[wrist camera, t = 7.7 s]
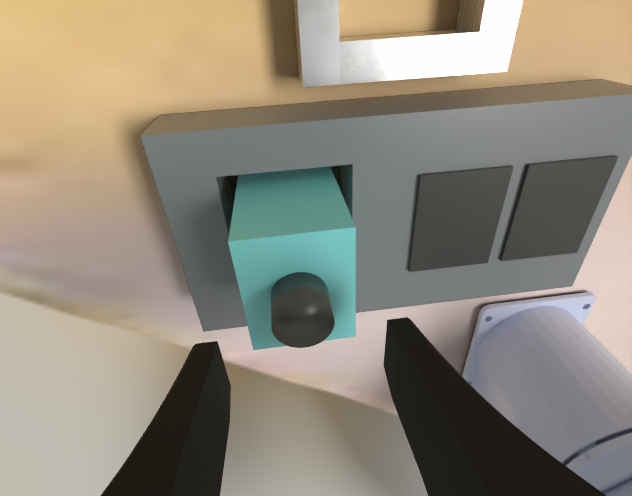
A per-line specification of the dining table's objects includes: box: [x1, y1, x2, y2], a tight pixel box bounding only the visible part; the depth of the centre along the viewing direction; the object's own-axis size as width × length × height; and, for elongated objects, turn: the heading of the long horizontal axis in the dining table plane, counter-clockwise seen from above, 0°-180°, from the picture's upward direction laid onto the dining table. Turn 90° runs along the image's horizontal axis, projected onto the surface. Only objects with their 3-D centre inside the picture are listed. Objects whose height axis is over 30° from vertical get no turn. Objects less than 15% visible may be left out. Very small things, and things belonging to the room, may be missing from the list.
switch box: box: [140, 79, 632, 331], centre depth 17 cm, size 10×20×3 cm, turn 93°
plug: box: [228, 166, 356, 350], centre depth 15 cm, size 5×4×8 cm
